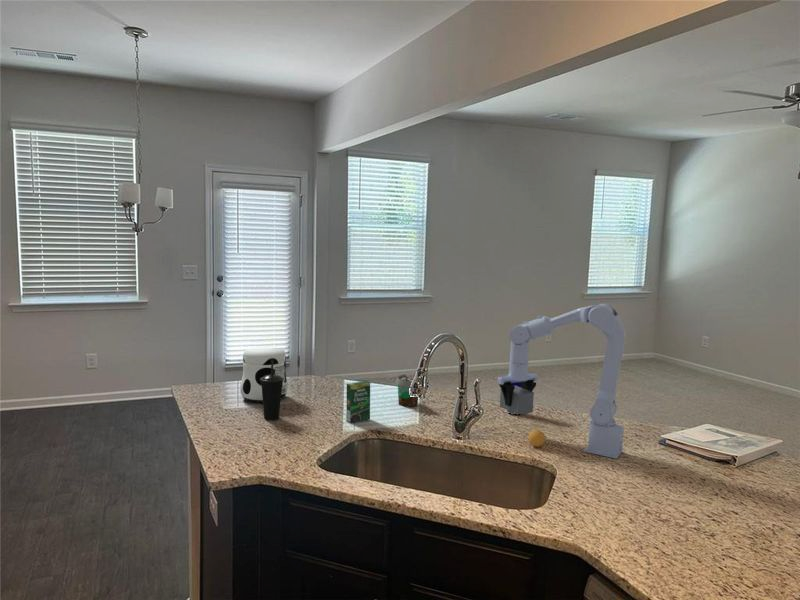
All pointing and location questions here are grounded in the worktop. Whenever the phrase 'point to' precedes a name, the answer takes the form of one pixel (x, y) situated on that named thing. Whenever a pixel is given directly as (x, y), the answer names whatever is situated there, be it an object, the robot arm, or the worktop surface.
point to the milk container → (261, 371)
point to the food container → (405, 392)
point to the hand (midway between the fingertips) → (516, 404)
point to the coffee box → (358, 401)
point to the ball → (537, 438)
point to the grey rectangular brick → (519, 401)
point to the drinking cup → (271, 394)
